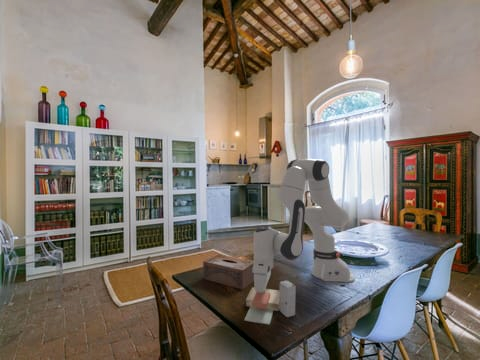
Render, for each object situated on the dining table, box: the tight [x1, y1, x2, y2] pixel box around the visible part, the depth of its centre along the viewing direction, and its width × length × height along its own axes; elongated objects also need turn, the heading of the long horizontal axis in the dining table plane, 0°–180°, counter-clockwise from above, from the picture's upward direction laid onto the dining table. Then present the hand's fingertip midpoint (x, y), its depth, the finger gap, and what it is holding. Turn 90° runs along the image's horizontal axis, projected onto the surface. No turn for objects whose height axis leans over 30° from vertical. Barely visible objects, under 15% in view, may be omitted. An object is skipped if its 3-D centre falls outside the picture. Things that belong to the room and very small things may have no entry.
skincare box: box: [278, 280, 297, 318], centre depth 98 cm, size 6×4×12 cm
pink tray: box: [252, 292, 270, 309], centre depth 101 cm, size 9×6×2 cm, turn 164°
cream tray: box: [245, 286, 280, 312], centre depth 107 cm, size 14×12×3 cm
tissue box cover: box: [202, 253, 254, 290], centre depth 131 cm, size 26×14×10 cm, turn 58°
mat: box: [244, 306, 274, 326], centre depth 96 cm, size 10×10×1 cm
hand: (263, 293), depth 106 cm, fingers closed
